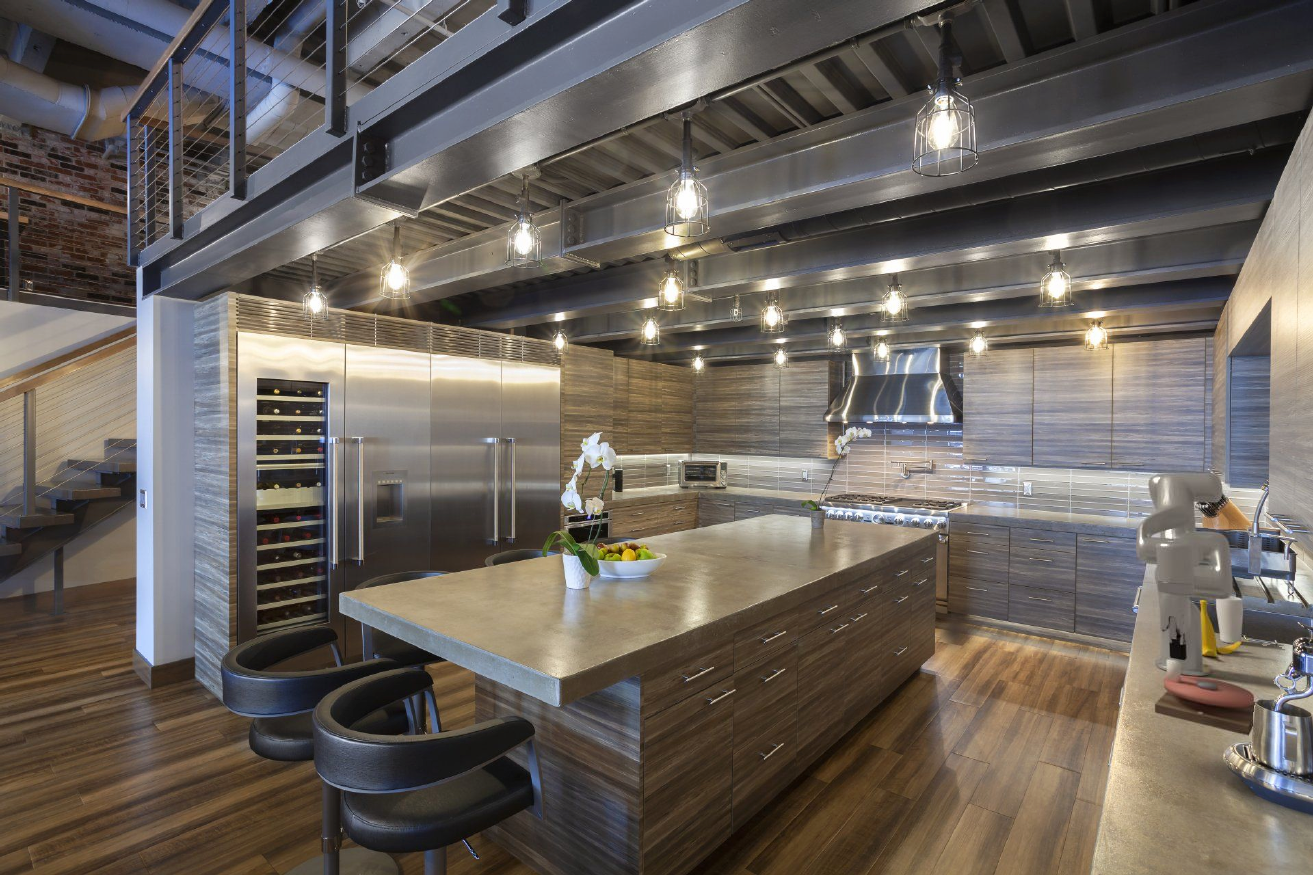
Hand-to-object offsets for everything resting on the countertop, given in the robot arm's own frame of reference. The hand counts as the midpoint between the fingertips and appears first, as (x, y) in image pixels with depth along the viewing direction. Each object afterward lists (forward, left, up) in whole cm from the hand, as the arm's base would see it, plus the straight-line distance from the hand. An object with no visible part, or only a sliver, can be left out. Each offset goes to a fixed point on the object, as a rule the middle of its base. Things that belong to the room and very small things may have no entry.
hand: (1178, 658), depth 165 cm
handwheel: (+5, +6, -6) cm, 10 cm away
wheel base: (+5, +6, -11) cm, 13 cm away
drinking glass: (-74, 0, -11) cm, 75 cm away
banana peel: (-53, -3, -11) cm, 54 cm away
